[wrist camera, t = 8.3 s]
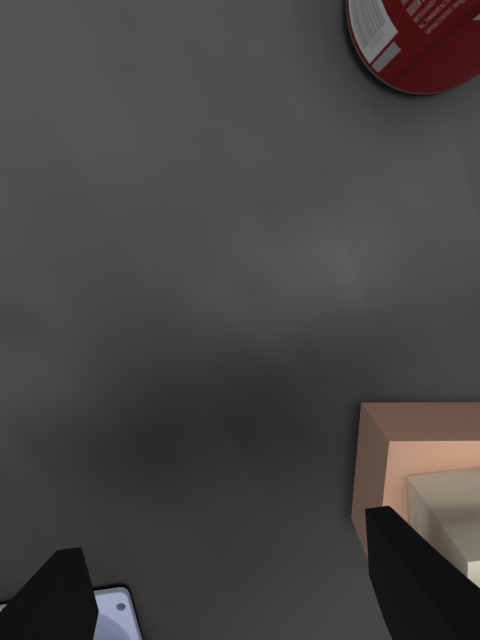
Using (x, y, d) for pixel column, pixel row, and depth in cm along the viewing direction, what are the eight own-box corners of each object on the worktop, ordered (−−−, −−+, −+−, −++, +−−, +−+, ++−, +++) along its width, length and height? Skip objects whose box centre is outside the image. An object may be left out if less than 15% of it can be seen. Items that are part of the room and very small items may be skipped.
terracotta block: (472, 514, 23) (522, 574, 19) (349, 515, 22) (374, 576, 18) (491, 399, 21) (551, 440, 17) (359, 400, 21) (389, 441, 17)
